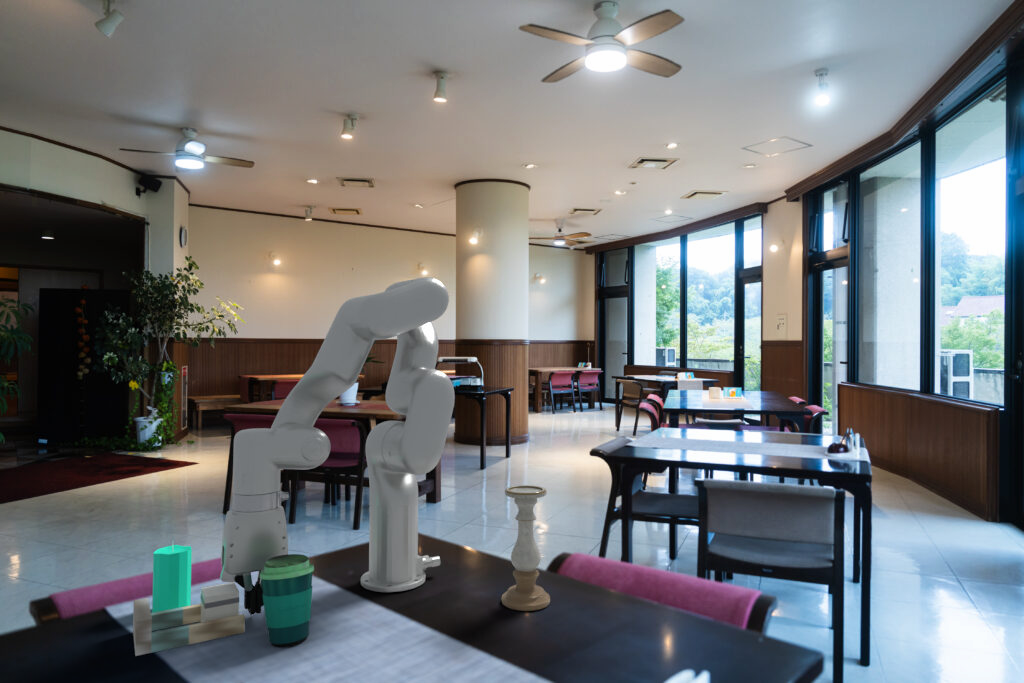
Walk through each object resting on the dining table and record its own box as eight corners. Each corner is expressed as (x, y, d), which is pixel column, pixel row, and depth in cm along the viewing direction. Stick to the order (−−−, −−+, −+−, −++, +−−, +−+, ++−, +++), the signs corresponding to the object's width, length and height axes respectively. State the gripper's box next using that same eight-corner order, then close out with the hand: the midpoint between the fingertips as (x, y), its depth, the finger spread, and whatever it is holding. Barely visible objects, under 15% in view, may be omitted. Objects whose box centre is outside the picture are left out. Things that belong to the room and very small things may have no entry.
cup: (261, 653, 93) (262, 571, 93) (256, 632, 100) (257, 556, 100) (317, 642, 97) (318, 563, 97) (308, 623, 104) (309, 550, 104)
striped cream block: (233, 617, 106) (234, 581, 106) (238, 628, 102) (239, 591, 102) (200, 624, 103) (200, 587, 104) (204, 635, 99) (204, 597, 99)
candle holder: (493, 607, 110) (493, 491, 111) (512, 590, 119) (512, 483, 119) (540, 614, 107) (540, 495, 108) (556, 597, 115) (556, 486, 116)
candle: (173, 618, 106) (175, 546, 106) (143, 615, 107) (145, 544, 108) (198, 604, 112) (199, 536, 112) (169, 602, 113) (170, 535, 113)
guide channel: (234, 611, 108) (234, 582, 109) (244, 632, 100) (245, 600, 100) (133, 632, 100) (133, 600, 100) (135, 656, 92) (136, 621, 92)
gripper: (295, 493, 114) (294, 596, 113) (204, 503, 105) (202, 613, 105) (307, 500, 107) (305, 609, 106) (211, 511, 99) (208, 629, 98)
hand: (254, 611), depth 106 cm, fingers closed
